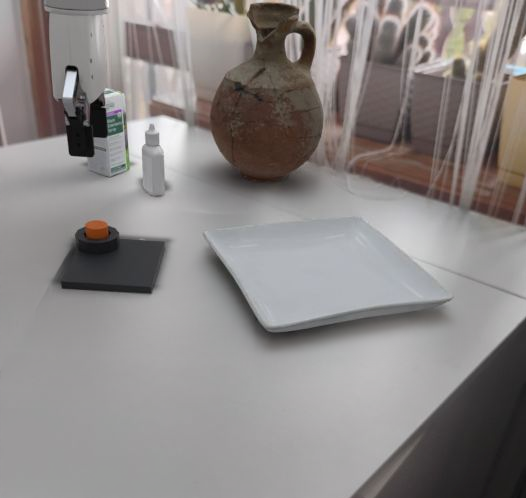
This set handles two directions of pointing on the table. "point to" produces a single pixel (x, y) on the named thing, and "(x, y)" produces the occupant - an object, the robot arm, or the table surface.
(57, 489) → the table surface
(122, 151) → the syrup box
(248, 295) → the square plate
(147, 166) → the eye dropper bottle
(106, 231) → the power button
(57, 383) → the table surface
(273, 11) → the jug
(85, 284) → the dark grey button base
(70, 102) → the robot arm
